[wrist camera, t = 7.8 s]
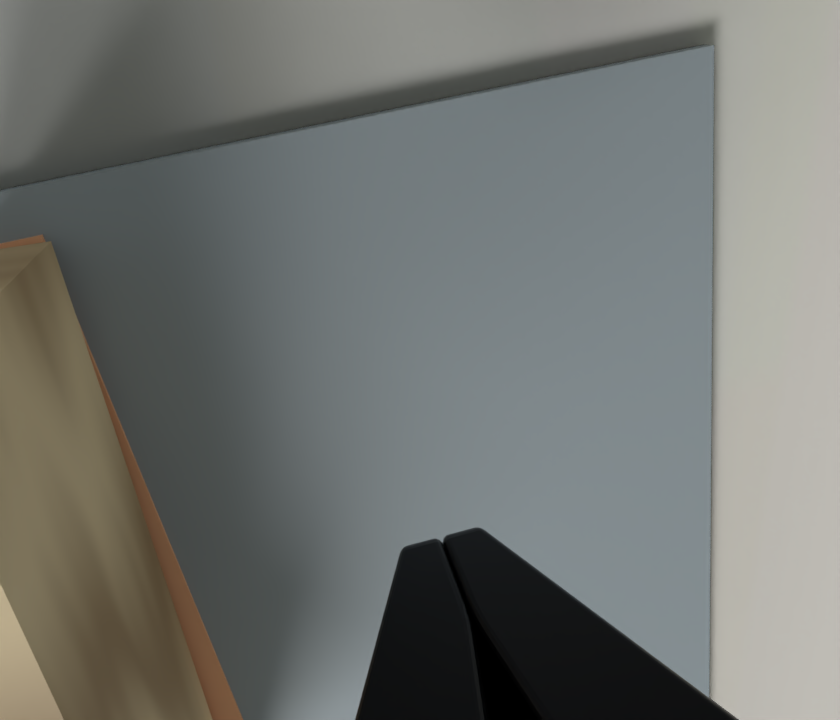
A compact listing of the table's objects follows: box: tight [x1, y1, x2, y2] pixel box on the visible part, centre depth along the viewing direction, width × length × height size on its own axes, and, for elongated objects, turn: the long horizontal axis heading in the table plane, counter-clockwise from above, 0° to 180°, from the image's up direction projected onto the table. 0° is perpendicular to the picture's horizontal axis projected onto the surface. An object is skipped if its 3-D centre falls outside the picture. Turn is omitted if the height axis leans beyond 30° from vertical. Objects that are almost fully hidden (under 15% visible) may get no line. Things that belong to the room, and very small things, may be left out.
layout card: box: [0, 45, 714, 720], centre depth 14 cm, size 24×17×1 cm
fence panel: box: [0, 241, 213, 720], centre depth 11 cm, size 11×1×5 cm, turn 6°
